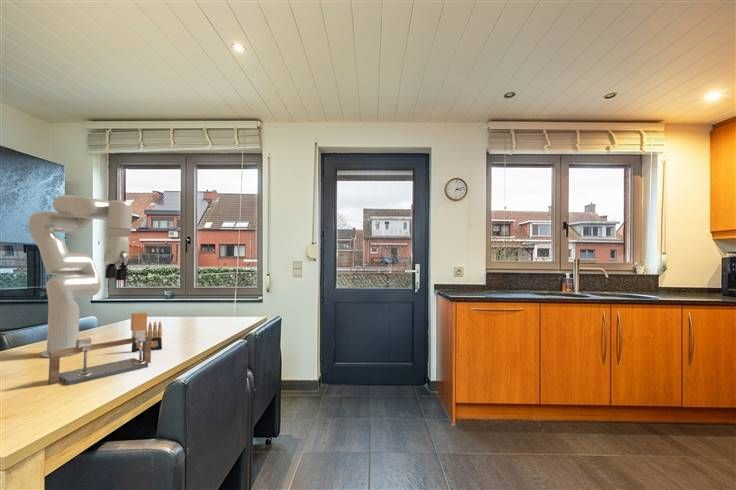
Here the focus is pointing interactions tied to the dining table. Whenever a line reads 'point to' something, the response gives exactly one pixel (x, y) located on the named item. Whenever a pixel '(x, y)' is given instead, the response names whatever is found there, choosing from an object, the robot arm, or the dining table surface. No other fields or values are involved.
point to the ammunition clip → (156, 338)
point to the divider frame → (85, 346)
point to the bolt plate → (101, 371)
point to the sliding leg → (139, 329)
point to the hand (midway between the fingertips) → (115, 279)
